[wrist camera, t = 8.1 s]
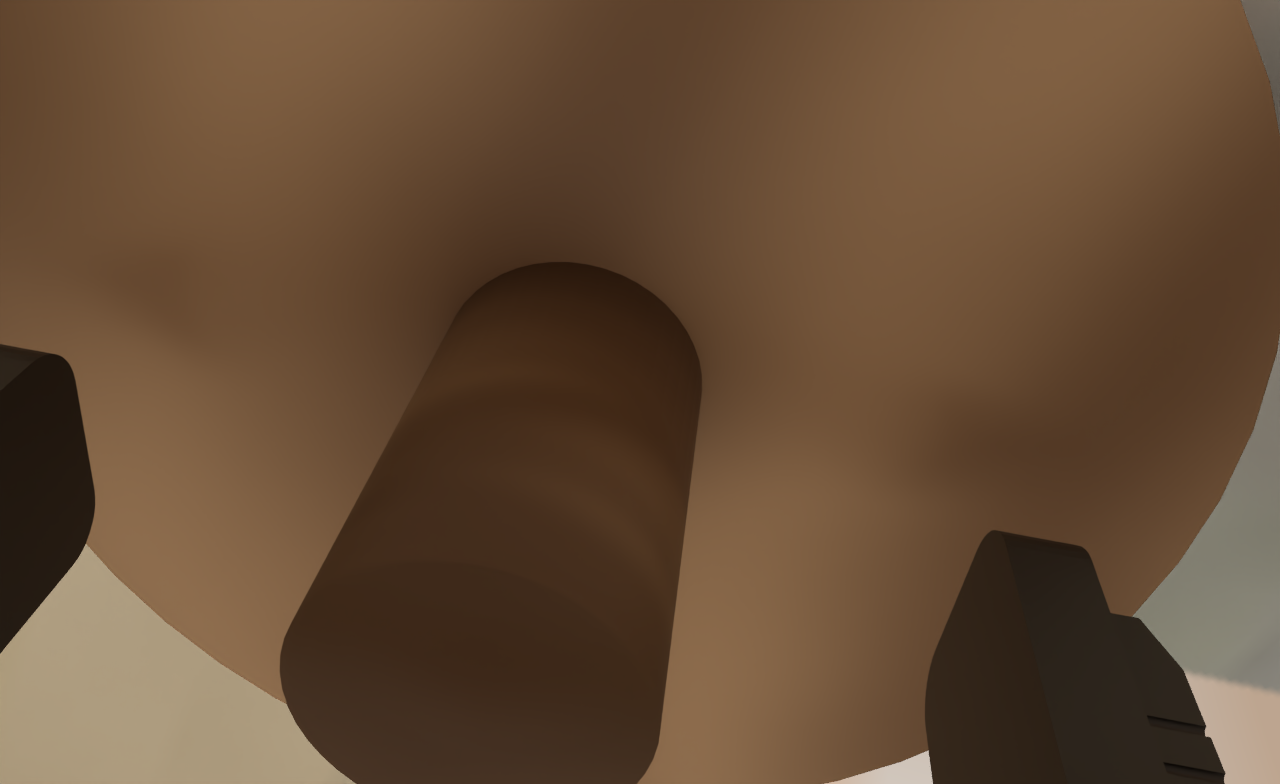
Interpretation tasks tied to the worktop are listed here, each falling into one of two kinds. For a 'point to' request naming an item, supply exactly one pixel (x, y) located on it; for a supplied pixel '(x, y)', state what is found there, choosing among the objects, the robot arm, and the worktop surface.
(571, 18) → the lid
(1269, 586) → the worktop surface
